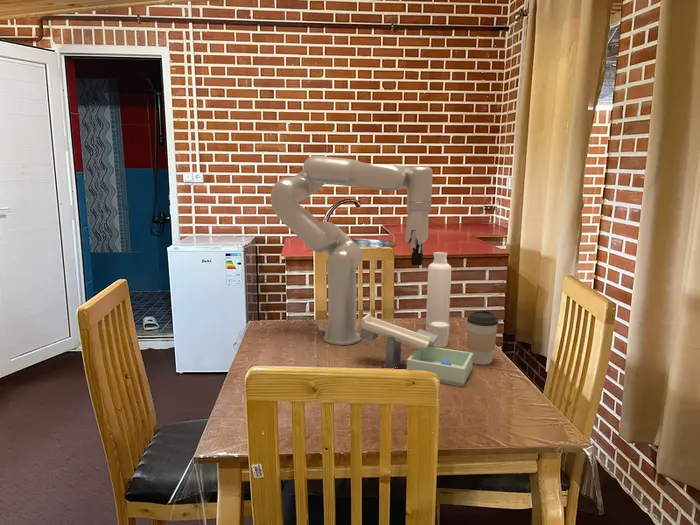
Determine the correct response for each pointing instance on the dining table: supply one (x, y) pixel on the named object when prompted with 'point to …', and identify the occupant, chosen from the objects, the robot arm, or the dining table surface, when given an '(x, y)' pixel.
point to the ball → (446, 362)
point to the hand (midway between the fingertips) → (416, 264)
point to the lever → (395, 333)
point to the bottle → (438, 289)
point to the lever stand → (393, 354)
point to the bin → (432, 362)
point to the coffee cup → (482, 336)
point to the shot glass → (440, 332)
